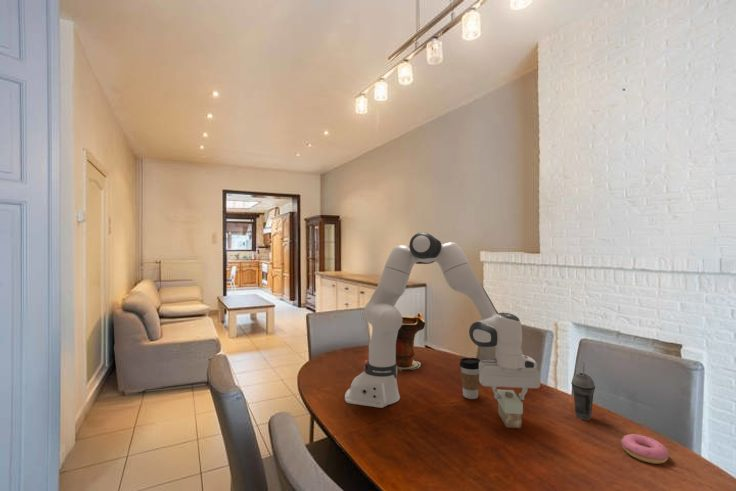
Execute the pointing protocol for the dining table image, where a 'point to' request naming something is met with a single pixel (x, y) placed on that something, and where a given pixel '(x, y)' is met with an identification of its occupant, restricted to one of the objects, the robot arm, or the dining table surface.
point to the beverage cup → (583, 395)
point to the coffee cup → (470, 377)
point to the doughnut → (645, 448)
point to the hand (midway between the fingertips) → (509, 398)
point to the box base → (509, 418)
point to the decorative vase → (408, 342)
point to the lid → (510, 402)
